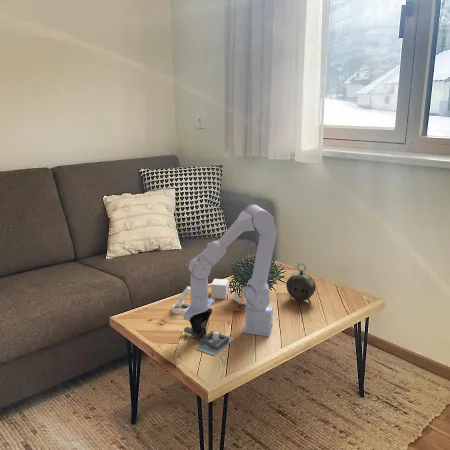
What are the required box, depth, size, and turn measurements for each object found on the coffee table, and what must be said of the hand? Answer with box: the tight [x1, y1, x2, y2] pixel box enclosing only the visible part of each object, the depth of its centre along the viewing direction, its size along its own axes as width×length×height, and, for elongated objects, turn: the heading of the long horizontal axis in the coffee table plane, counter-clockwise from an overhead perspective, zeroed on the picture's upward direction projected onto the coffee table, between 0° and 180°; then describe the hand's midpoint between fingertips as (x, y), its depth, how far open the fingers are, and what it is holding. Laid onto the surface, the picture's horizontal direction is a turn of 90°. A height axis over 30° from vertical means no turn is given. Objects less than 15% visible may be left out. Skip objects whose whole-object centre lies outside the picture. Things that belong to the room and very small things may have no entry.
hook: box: [170, 285, 191, 315], centre depth 176 cm, size 8×12×7 cm
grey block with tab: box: [183, 319, 230, 350], centre depth 155 cm, size 16×7×6 cm, turn 56°
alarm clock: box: [286, 263, 316, 304], centre depth 182 cm, size 11×5×16 cm, turn 58°
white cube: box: [210, 278, 230, 300], centre depth 189 cm, size 6×6×6 cm
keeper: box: [195, 331, 235, 356], centre depth 153 cm, size 7×12×4 cm, turn 146°
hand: (199, 331), depth 156 cm, fingers closed on grey block with tab, 3 cm apart
